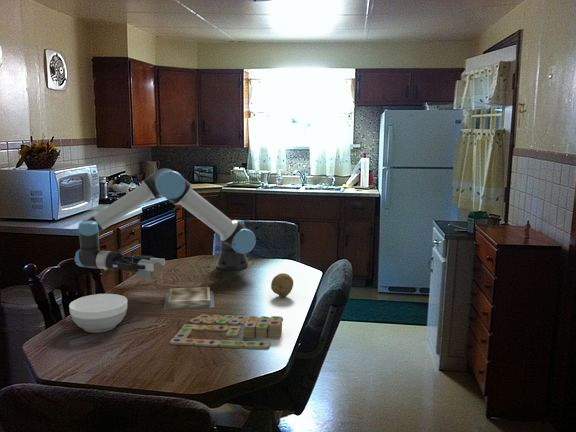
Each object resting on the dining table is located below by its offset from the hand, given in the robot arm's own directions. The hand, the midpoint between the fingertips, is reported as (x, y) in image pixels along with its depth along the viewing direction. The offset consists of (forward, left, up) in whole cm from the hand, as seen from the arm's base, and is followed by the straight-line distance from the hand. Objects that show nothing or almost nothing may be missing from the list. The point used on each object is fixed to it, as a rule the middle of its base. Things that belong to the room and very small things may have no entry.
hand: (158, 264), depth 210 cm
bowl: (+18, +29, -14) cm, 37 cm away
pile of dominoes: (-26, +39, -14) cm, 49 cm away
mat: (-12, +6, -13) cm, 19 cm away
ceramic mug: (+3, -3, -6) cm, 8 cm away
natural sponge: (-49, +7, -14) cm, 51 cm away
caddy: (-12, +6, -13) cm, 19 cm away
